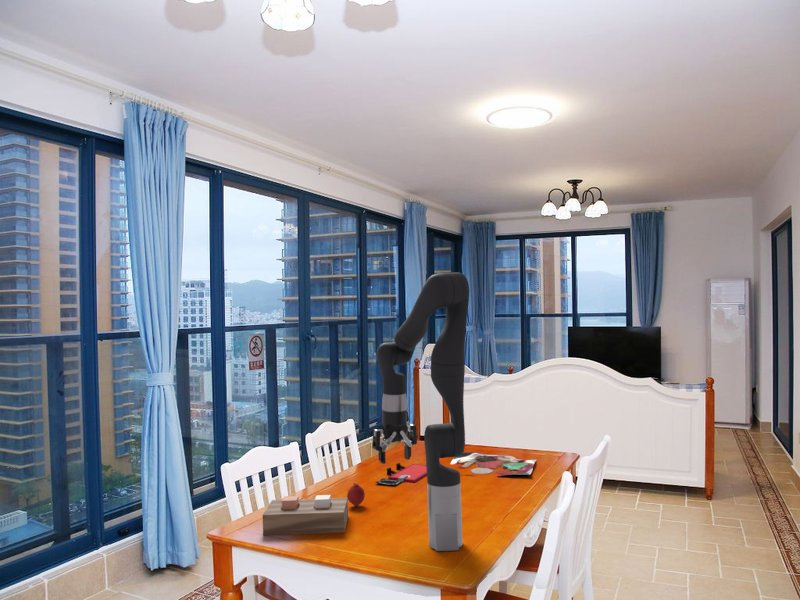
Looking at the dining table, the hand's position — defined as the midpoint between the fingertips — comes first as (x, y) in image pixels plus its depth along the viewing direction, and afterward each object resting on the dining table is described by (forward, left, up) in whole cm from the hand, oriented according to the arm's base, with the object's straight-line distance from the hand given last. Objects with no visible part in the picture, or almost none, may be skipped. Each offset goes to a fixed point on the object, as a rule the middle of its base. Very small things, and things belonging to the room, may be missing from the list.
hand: (395, 461), depth 185 cm
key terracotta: (+3, +33, -15) cm, 36 cm away
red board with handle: (+56, -3, -20) cm, 60 cm away
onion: (+20, +14, -20) cm, 31 cm away
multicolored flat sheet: (+68, -39, -20) cm, 81 cm away
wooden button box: (+3, +28, -20) cm, 34 cm away
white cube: (+3, +23, -15) cm, 27 cm away
